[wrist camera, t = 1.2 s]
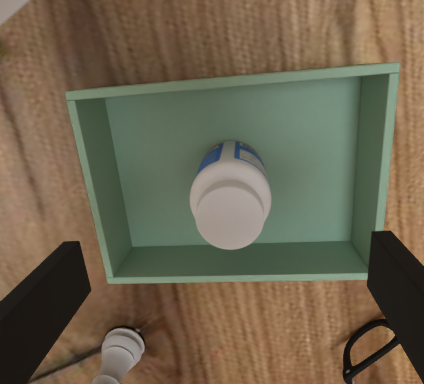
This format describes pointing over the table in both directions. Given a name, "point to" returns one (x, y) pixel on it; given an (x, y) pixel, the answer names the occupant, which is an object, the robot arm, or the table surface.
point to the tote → (272, 159)
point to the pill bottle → (230, 195)
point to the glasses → (352, 371)
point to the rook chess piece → (119, 355)
